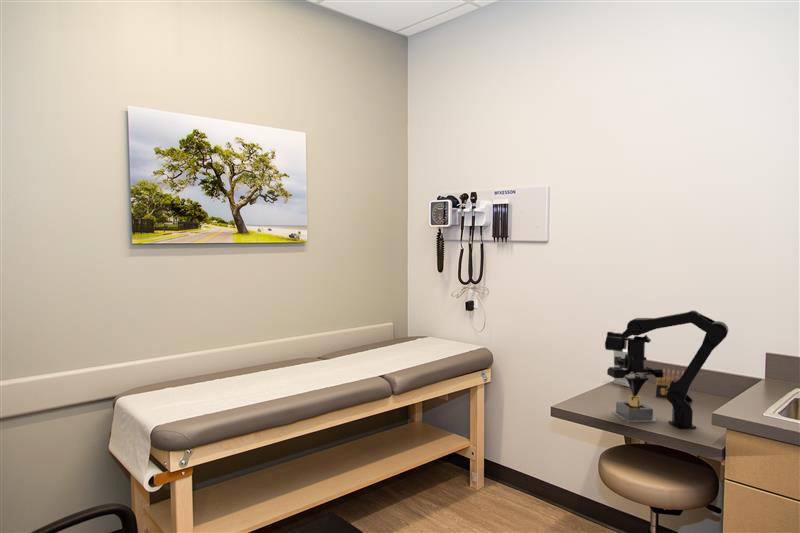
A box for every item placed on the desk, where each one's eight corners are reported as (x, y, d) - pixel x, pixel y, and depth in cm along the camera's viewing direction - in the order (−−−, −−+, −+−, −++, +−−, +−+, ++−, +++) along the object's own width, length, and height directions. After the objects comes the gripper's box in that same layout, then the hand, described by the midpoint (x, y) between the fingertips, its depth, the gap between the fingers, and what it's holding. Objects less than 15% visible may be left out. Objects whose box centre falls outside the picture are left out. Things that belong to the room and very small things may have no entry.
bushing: (642, 416, 191) (643, 397, 191) (632, 417, 190) (632, 398, 190) (636, 413, 195) (636, 394, 195) (626, 413, 194) (626, 394, 194)
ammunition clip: (655, 396, 219) (656, 368, 218) (655, 395, 220) (656, 367, 220) (684, 400, 214) (686, 371, 213) (684, 399, 216) (685, 370, 215)
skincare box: (638, 385, 235) (639, 351, 235) (628, 387, 232) (629, 352, 231) (621, 381, 243) (622, 347, 242) (612, 383, 239) (613, 349, 239)
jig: (656, 421, 188) (657, 409, 188) (627, 422, 187) (627, 410, 186) (639, 411, 199) (640, 400, 198) (611, 412, 198) (612, 401, 197)
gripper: (647, 348, 200) (646, 389, 201) (600, 348, 199) (599, 389, 199) (665, 354, 189) (663, 397, 190) (615, 355, 188) (614, 398, 188)
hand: (634, 395), depth 192 cm, fingers closed
